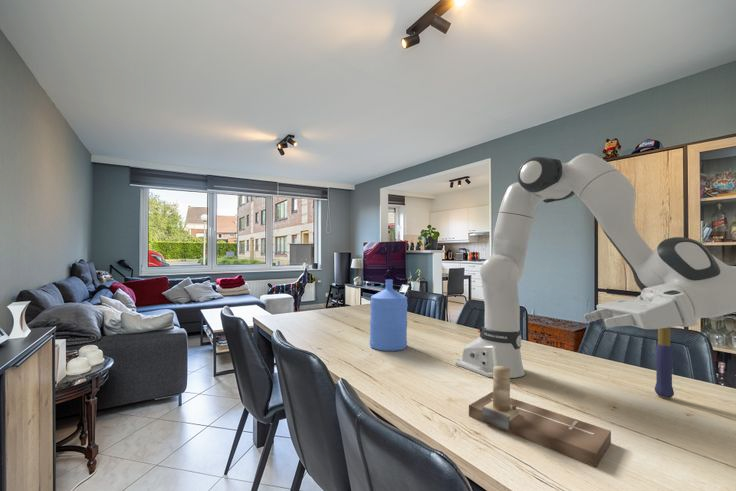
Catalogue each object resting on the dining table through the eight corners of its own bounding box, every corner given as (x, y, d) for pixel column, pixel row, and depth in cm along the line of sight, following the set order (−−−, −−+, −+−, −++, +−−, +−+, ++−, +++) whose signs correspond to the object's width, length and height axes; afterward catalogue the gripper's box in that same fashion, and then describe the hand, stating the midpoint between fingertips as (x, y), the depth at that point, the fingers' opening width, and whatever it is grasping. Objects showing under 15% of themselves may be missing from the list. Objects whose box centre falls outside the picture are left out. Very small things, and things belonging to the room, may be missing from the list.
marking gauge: (482, 419, 77) (482, 368, 77) (493, 411, 81) (494, 362, 81) (508, 429, 72) (508, 375, 73) (518, 420, 76) (519, 369, 76)
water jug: (408, 352, 132) (409, 281, 132) (369, 351, 132) (370, 280, 132) (405, 341, 147) (405, 278, 148) (369, 341, 147) (370, 278, 148)
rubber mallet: (688, 409, 85) (687, 292, 86) (650, 402, 90) (649, 290, 90) (677, 393, 96) (676, 289, 96) (643, 387, 100) (643, 287, 101)
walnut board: (468, 415, 80) (468, 404, 80) (492, 401, 88) (492, 391, 89) (596, 467, 61) (596, 453, 61) (610, 442, 70) (610, 430, 70)
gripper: (630, 290, 83) (572, 303, 85) (690, 293, 63) (611, 311, 65) (640, 315, 82) (580, 328, 84) (703, 326, 62) (623, 343, 64)
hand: (594, 320), depth 75 cm, fingers open, 8 cm apart
